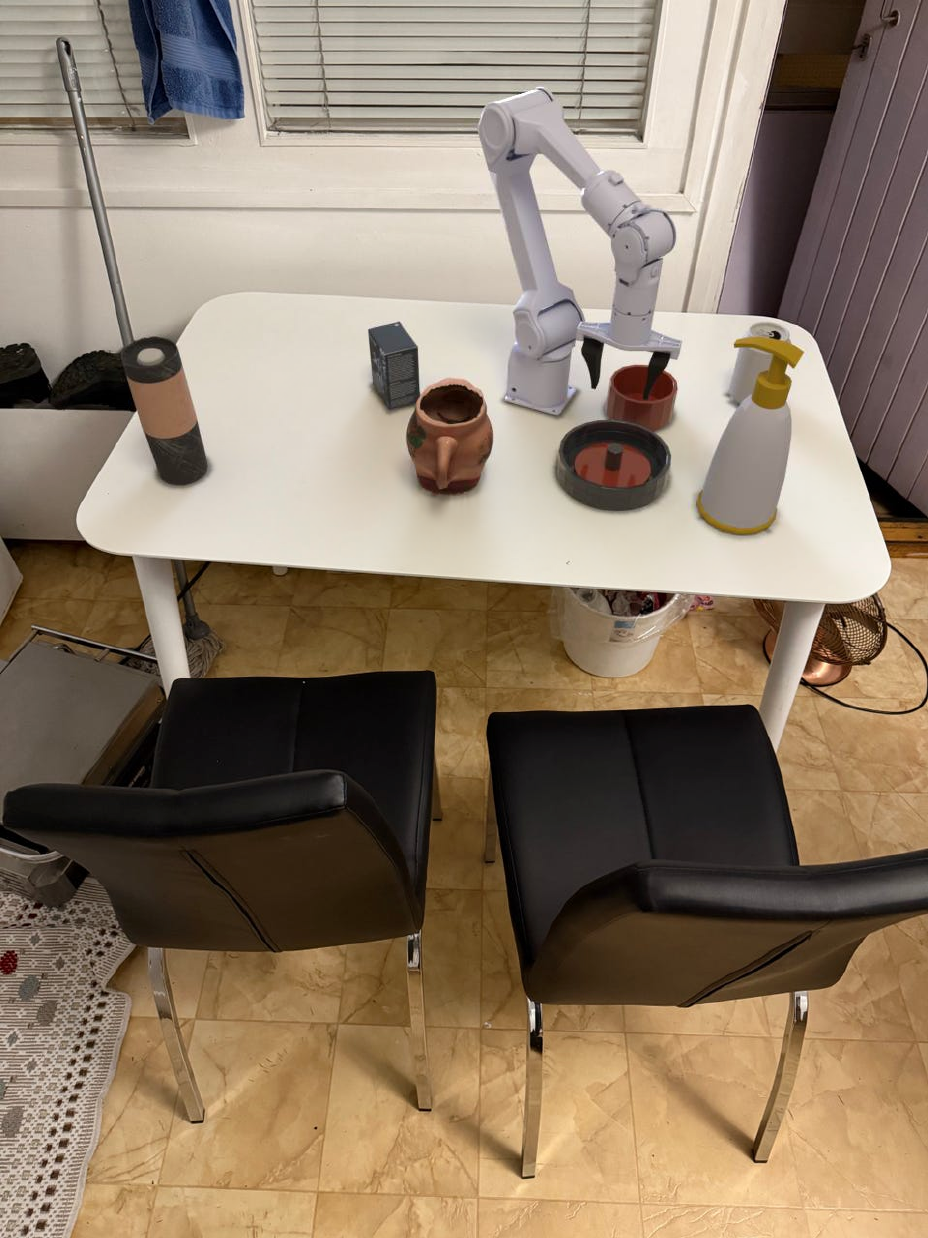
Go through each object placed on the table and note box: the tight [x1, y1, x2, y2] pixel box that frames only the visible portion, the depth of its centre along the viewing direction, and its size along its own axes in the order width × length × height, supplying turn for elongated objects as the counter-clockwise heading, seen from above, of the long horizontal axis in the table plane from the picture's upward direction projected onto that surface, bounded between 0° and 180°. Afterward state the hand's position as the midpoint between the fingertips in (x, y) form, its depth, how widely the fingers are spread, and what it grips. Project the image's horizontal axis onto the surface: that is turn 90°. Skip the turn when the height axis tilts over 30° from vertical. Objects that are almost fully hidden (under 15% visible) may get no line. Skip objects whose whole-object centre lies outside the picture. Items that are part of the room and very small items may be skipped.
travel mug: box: [120, 336, 208, 486], centre depth 129 cm, size 8×8×20 cm
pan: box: [556, 419, 672, 512], centre depth 134 cm, size 16×16×4 cm
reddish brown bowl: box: [605, 364, 679, 432], centre depth 144 cm, size 10×10×5 cm
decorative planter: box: [405, 377, 494, 496], centre depth 129 cm, size 20×12×14 cm, turn 0°
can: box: [728, 321, 792, 405], centre depth 144 cm, size 8×8×12 cm
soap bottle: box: [696, 336, 805, 536], centre depth 121 cm, size 11×12×26 cm
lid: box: [574, 443, 651, 487], centre depth 134 cm, size 11×11×4 cm
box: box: [367, 321, 421, 411], centre depth 145 cm, size 8×6×11 cm
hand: (620, 390), depth 134 cm, fingers open, 7 cm apart
